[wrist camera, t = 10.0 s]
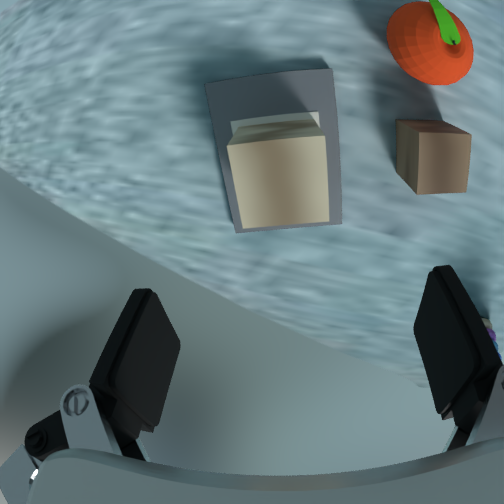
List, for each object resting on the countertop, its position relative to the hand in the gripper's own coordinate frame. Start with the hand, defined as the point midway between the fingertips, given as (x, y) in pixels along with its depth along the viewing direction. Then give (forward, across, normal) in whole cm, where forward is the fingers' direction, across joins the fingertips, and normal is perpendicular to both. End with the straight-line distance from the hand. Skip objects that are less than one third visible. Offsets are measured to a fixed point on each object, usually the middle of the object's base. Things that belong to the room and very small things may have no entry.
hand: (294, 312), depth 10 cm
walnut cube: (+18, -12, 0) cm, 22 cm away
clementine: (+18, -12, -10) cm, 24 cm away
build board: (+18, +1, 0) cm, 18 cm away
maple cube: (+17, 0, 0) cm, 17 cm away
